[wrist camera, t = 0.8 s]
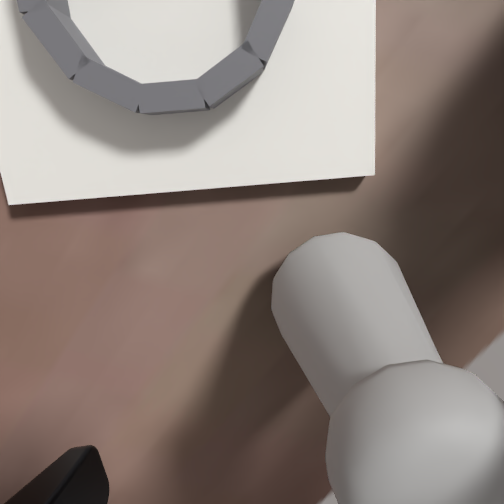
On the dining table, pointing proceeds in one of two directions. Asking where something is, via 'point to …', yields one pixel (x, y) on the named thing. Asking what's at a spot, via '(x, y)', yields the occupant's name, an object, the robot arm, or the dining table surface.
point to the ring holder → (182, 95)
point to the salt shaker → (385, 382)
